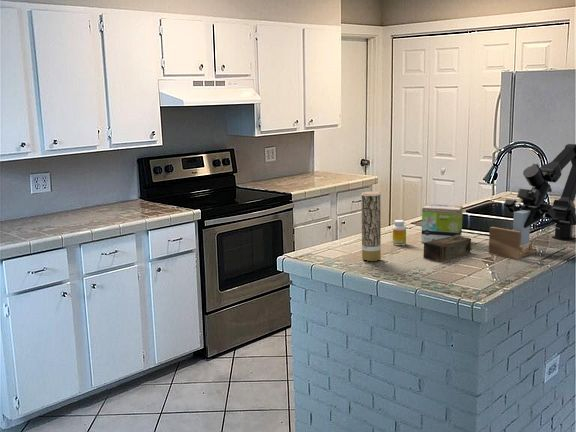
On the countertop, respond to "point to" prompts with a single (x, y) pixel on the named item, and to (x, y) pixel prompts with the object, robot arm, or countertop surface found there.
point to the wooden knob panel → (507, 243)
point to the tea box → (441, 221)
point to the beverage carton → (446, 248)
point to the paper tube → (371, 226)
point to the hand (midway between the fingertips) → (519, 226)
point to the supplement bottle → (399, 233)
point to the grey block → (521, 225)
